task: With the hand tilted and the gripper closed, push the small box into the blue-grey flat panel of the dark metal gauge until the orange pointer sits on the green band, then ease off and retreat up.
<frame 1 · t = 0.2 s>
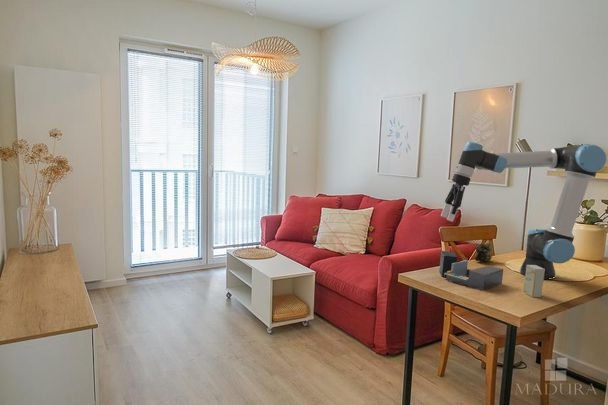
hand: (446, 218, 191), 28 cm above the table, tool tilted 15°, fingers open, 13 cm apart
skincare box: (532, 295, 172), on the table
seashell: (481, 261, 226), on the table
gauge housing: (472, 281, 187), on the table
blue-grey flat panel: (457, 269, 191), point 4 cm above the table, slide at 0.0 cm
small box: (447, 275, 197), on the table
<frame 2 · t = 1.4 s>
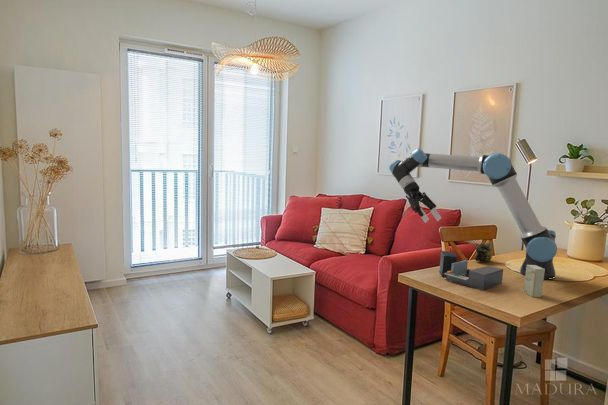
hand: (433, 220, 202), 25 cm above the table, tool tilted 45°, fingers open, 10 cm apart
nothing on the table moved.
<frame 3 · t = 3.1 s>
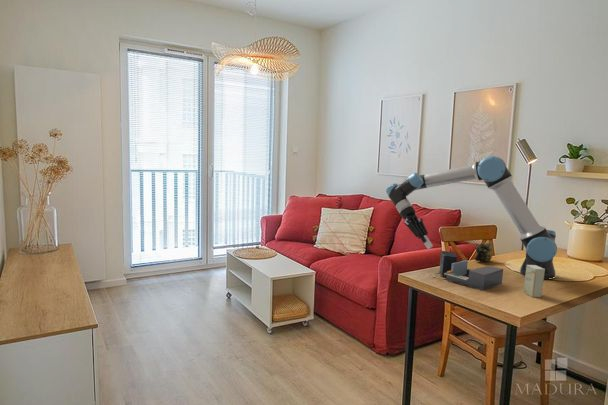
hand: (430, 247, 204), 11 cm above the table, tool tilted 45°, fingers closed
nothing on the table moved.
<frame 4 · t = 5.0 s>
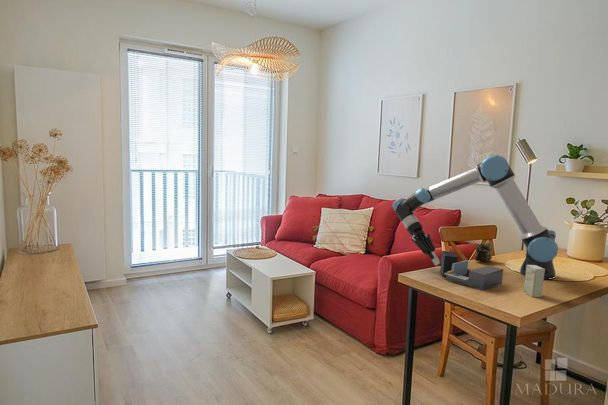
hand: (438, 264, 201), 4 cm above the table, tool tilted 45°, fingers closed
small box: (448, 275, 197), on the table, touching gripper
everything else where it was.
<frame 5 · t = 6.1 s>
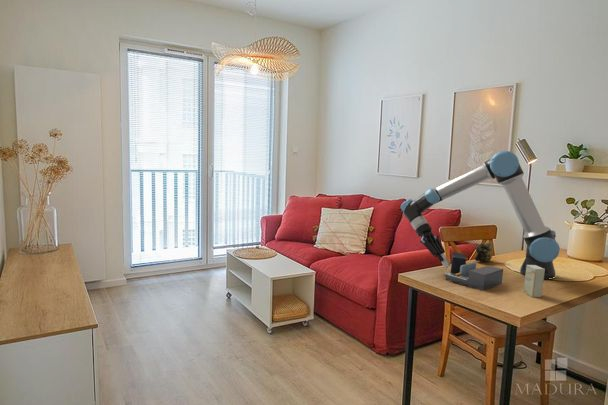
hand: (447, 266, 197), 4 cm above the table, tool tilted 45°, fingers closed
blue-grey flat panel: (465, 271, 188), point 4 cm above the table, slide at 4.3 cm
small box: (457, 277, 194), on the table, touching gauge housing, gripper
everything else where it was.
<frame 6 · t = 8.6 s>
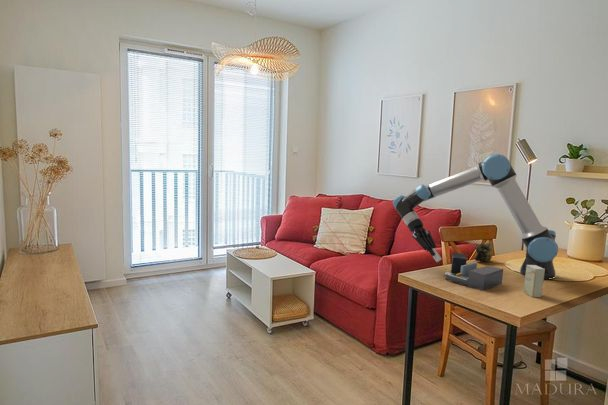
hand: (439, 260, 200), 6 cm above the table, tool tilted 45°, fingers closed
blue-grey flat panel: (466, 271, 187), point 4 cm above the table, slide at 4.6 cm
small box: (457, 277, 194), on the table
everything else where it was.
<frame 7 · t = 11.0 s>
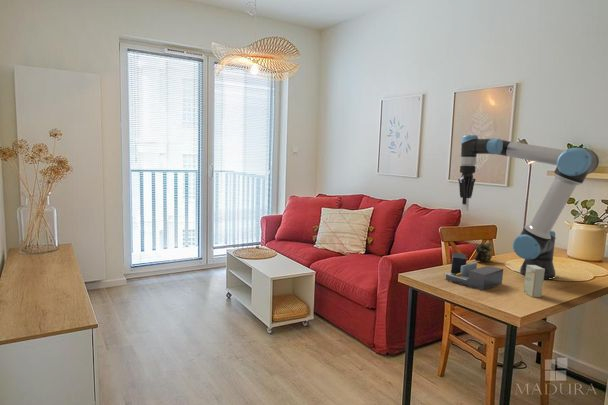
hand: (464, 210, 214), 29 cm above the table, tool pointing down, fingers closed
nothing on the table moved.
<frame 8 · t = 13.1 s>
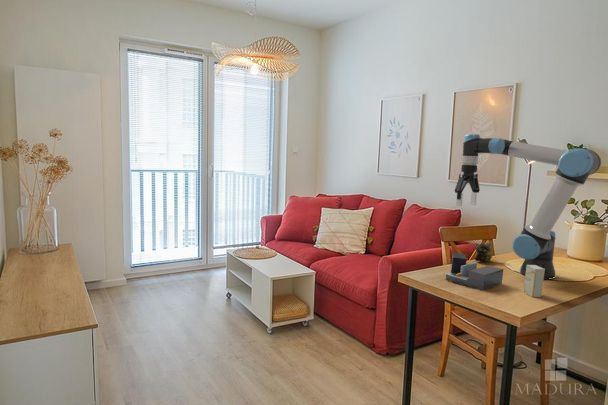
hand: (466, 205, 214), 32 cm above the table, tool pointing down, fingers open, 13 cm apart
nothing on the table moved.
at the end: blue-grey flat panel slide at 4.6 cm; small box tilted 0°; small box moved 5.0 cm from its start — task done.
